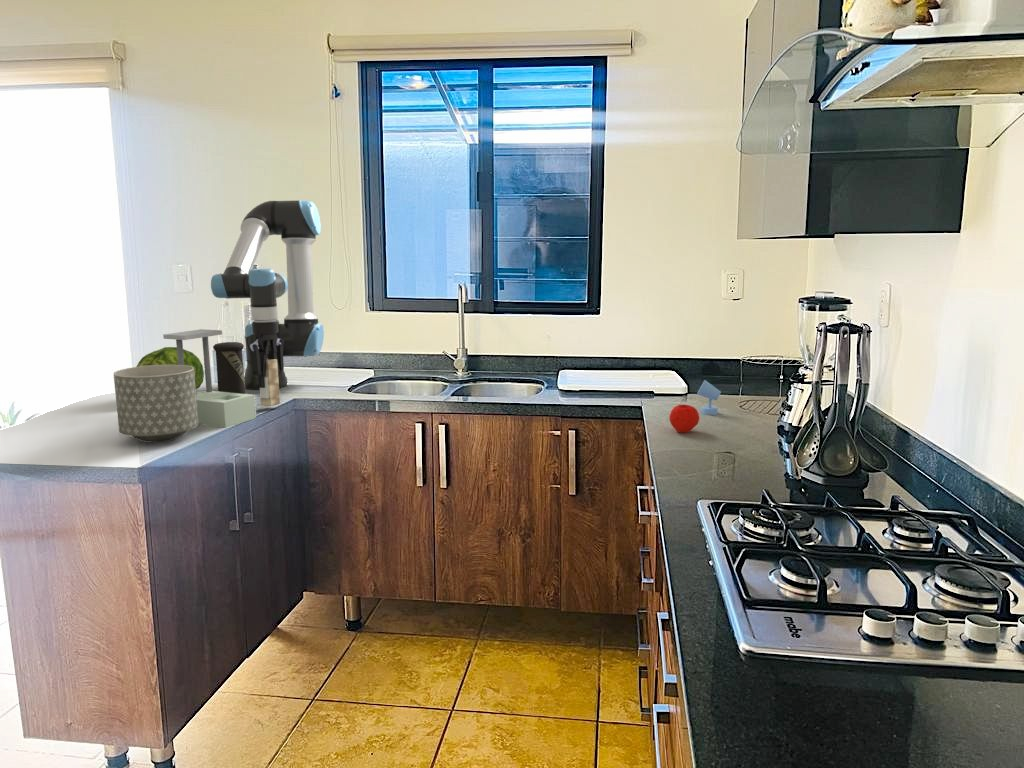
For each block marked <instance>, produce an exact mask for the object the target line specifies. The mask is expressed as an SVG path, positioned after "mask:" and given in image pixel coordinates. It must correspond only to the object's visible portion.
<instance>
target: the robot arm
mask: <svg viewBox="0 0 1024 768" xmlns="http://www.w3.org/2000/svg"><path fill="white" fill-rule="evenodd" d="M321 229H322V226H321V218H320V213H319V210H318V208H317V206H316V205H315V203H314V202H312V201H310V200H301V199H300V200H268V201H263V202H262V203H260V204H258V205H256V206H255V207H253V208H252V209H251V210H250V211H249V212H248V213H247V214H246V215H245V217H244V218H243V220H242V222H241V223H240V235H239V237H238V239H237V241H236V244H235V246H234V248H233V251H232V254H231V255H230V257H229V260H228V262H227V263H226V264H227V265H226V266H225V269H224V271H223V273H215V274H213V275H212V277H211V279H210V288H211V289H210V290H211V292H212V295H213V297H216V298H218V299H227V300H228V299H249V300H250V310H251V311H250V313H251V320H252V322H250V323H248V324H246V325H245V327H244V328H245V329H244V332H245V333H244V341H245V352H246V368H245V371H244V379H245V389H246V390H247V389H248V390H259V397H260V398H269V390H268V377H265V376H266V361H267V359H277V364H278V380H279V389H280V388H283V387H287V386H288V385H287V383H288V377H287V376H286V374H285V373H286V372H285V367H284V364H285V363H284V357H288V358H291V357H292V358H293V357H297V358H298V357H303V358H307V357H316V356H318V355H319V354H320V352H321V350H322V348H323V343H324V336H325V334H324V333H325V331H324V324H322V323H320V322H319V318H318V316H317V315H315V313H314V291H313V289H314V287H313V281H314V280H313V253H312V250H313V249H312V245H313V244H314V243H315V242H316V239H317V237H316V236H319V235H320V234H321ZM274 235H275V236H280V238H281V241H282V242H283V244H285V247H286V249H285V251H286V276H287V277H285V276H284V275H283V274H280V273H276V272H275V270H274V269H273V268H254V266H255V263H256V261H257V259H258V258H257V257H259V254H260V250H261V248H262V246H263V243H264V242H266V241H267V240H268V238H269V237H270V236H274ZM286 293H287V307H288V308H287V309H288V310H287V312H288V314H287V315H286V316H285V317H284V318H283V322H284V323H280V321H279V319H278V318H279V315H278V306H277V298H280V297H282V296H284V294H286ZM261 372H262V373H261Z"/></svg>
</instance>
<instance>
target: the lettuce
mask: <svg viewBox="0 0 1024 768" xmlns="http://www.w3.org/2000/svg"><path fill="white" fill-rule="evenodd" d="M183 355H184V365H187V366H192V367H194V374H195V386H196V390H198V389H199V388H200V387H201V385H202V384H203V382H204V379H205V370H204V366H203V365H204V364H203V363H202V361H201V360H200V358H199V357H198V356H197V355H195V354H194V352H192V351H189V350H187V349H184V348H183ZM150 365H178V357H177V346H175V347H174V346H170V347H169V346H165V347H162V348H159V349H158V350H154V351H151V352H149V353H147V354H145V355H144V356H142V358H141V359H139V361H138V363H137V365H136V366H135V367H140V366H150Z"/></svg>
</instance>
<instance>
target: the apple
mask: <svg viewBox="0 0 1024 768" xmlns="http://www.w3.org/2000/svg"><path fill="white" fill-rule="evenodd" d="M668 419H669V423H670V425H671V426H672V427H673V429H674V430H675V431H676V432H678V433H682V434H686V433H689V432H691V431H692V430H693V429H694V428H695V427H696V426H697V425H698V424H699V422H700V414H699V412H698V410H697V408H696V407H695V406H692V405H691V404H690V405H689V404H678V405H675V406H674V407H673V408H671V411H670V413H669V418H668Z"/></svg>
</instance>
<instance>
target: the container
mask: <svg viewBox="0 0 1024 768" xmlns="http://www.w3.org/2000/svg"><path fill="white" fill-rule="evenodd" d="M244 346H245V345H244V344H243V343H242V342H239V341H237V342H236V341H226V342H217V343H215V344H214V345H213V347H212V348H213V351H215V361H216V378H217V391H219V392H229V393H240V394H247V392H246V390H247V389H246V388H245V379H244V377H245V370H244V358H243V356H244V355H243V349H244Z"/></svg>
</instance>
